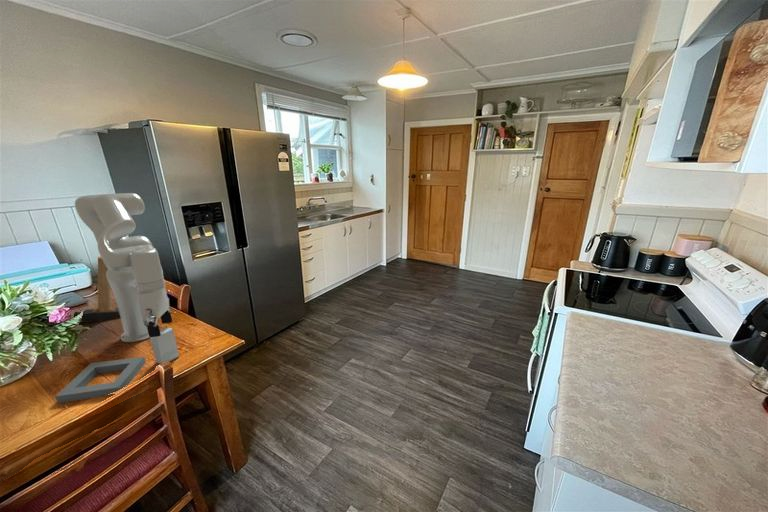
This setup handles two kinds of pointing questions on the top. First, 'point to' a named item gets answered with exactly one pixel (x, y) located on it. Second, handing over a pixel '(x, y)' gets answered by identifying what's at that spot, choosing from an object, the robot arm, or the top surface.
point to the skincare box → (164, 346)
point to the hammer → (101, 299)
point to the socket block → (81, 391)
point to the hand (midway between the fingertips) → (161, 329)
